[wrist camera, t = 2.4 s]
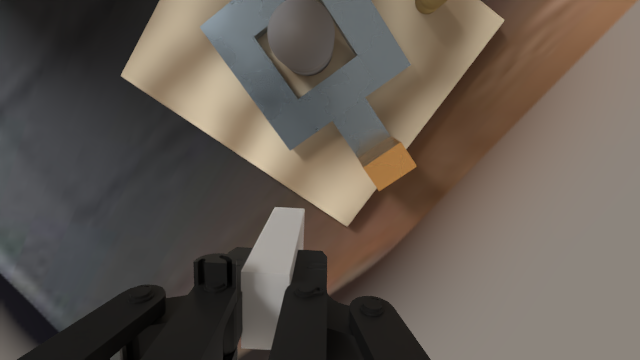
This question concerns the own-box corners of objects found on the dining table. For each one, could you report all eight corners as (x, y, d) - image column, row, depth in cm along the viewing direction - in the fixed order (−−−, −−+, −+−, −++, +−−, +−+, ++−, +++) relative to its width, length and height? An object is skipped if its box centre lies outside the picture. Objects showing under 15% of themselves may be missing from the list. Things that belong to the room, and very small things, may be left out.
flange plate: (205, 30, 25) (176, 13, 20) (324, -68, 24) (323, -111, 19) (330, 201, 28) (330, 222, 23) (443, 125, 27) (470, 131, 22)
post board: (129, 76, 28) (61, 69, 21) (258, -169, 23) (229, -282, 16) (346, 221, 30) (352, 259, 23) (496, 23, 26) (559, -5, 19)
